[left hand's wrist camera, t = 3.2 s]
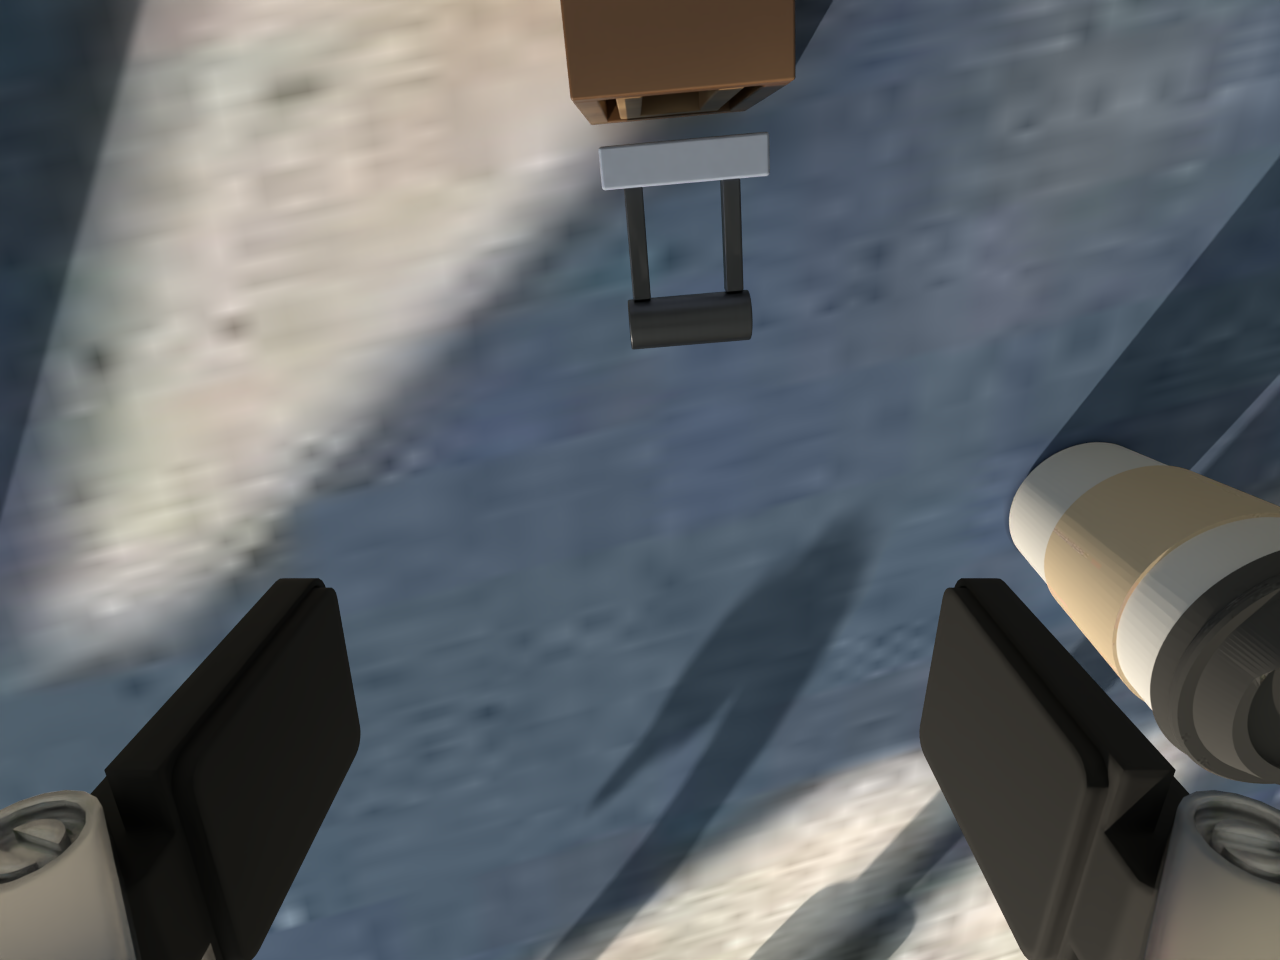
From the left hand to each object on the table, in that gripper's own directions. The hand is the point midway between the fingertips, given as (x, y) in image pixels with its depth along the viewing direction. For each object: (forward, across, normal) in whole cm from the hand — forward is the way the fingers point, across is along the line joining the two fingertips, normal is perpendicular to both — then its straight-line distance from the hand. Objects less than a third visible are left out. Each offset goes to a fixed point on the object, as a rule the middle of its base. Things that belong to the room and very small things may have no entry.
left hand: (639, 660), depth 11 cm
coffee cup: (+24, +22, -8) cm, 33 cm away
